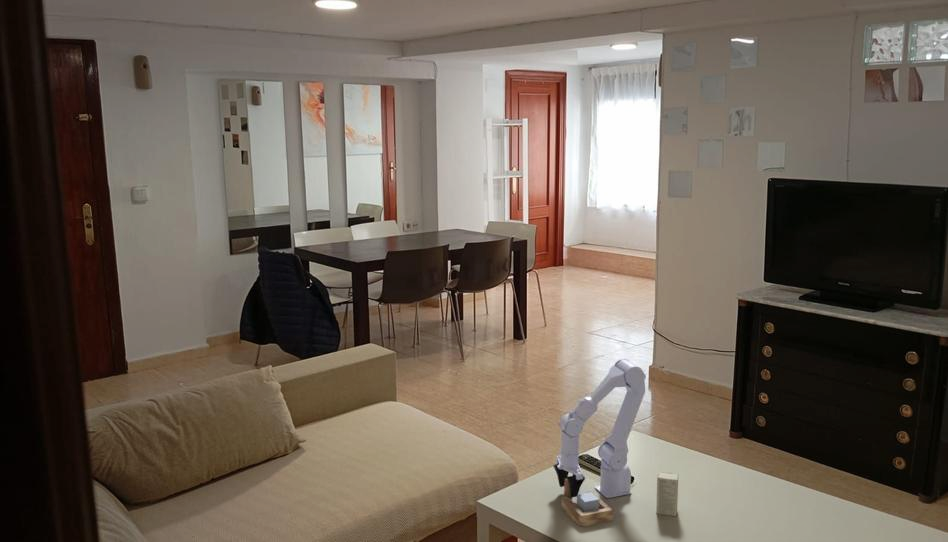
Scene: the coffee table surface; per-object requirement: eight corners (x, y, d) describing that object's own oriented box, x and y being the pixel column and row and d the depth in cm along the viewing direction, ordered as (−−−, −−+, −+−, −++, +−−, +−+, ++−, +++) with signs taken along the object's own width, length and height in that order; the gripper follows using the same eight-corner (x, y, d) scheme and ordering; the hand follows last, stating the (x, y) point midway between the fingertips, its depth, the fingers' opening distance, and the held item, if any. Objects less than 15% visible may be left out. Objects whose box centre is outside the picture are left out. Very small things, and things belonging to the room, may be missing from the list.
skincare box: (677, 510, 239) (679, 474, 237) (676, 517, 235) (678, 480, 233) (656, 507, 241) (658, 471, 239) (655, 513, 237) (657, 477, 235)
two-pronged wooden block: (591, 501, 244) (591, 491, 244) (612, 520, 233) (612, 509, 232) (561, 507, 241) (561, 497, 240) (580, 526, 229) (581, 515, 228)
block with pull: (573, 493, 250) (573, 476, 249) (598, 517, 235) (599, 499, 234) (559, 496, 248) (560, 479, 247) (584, 520, 233) (585, 502, 232)
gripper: (548, 444, 250) (547, 483, 252) (569, 462, 237) (568, 503, 239) (567, 441, 252) (566, 480, 255) (589, 459, 239) (587, 499, 242)
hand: (568, 491), depth 247 cm, fingers open, 7 cm apart
